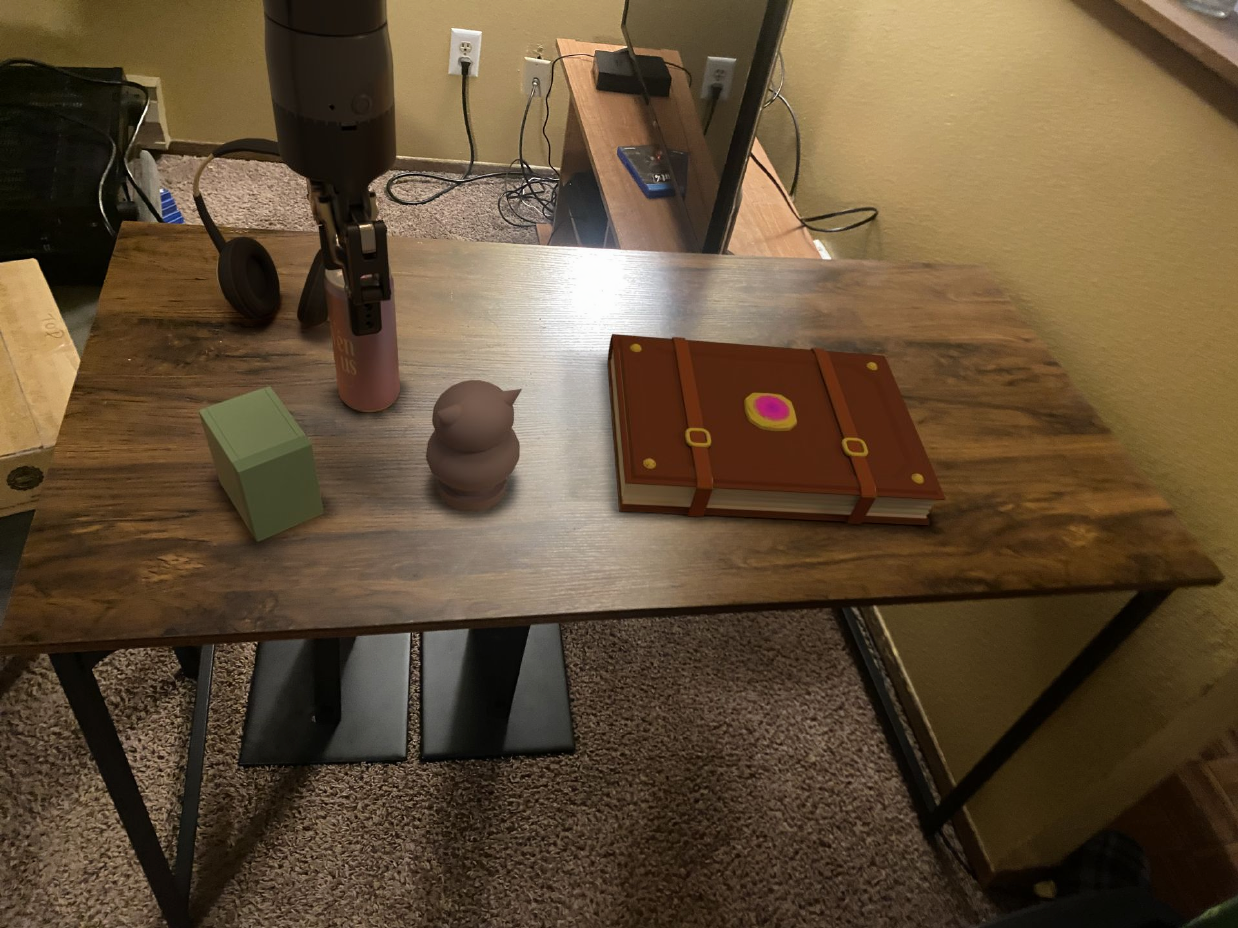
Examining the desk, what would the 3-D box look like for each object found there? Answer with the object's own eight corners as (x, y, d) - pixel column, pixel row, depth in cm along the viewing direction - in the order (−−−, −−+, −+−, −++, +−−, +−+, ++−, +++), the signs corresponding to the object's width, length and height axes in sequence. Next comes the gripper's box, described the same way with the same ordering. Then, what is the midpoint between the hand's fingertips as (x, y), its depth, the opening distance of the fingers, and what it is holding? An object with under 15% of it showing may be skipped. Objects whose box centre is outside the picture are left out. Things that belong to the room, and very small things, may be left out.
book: (928, 528, 84) (950, 496, 80) (619, 514, 79) (627, 479, 75) (868, 377, 99) (884, 345, 95) (606, 358, 94) (613, 322, 91)
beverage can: (412, 393, 86) (407, 270, 75) (370, 424, 82) (358, 299, 71) (369, 367, 88) (358, 243, 77) (326, 396, 84) (307, 270, 73)
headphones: (233, 283, 93) (193, 108, 79) (367, 299, 95) (353, 131, 81) (207, 331, 88) (159, 151, 73) (351, 347, 89) (332, 175, 75)
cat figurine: (493, 443, 83) (499, 350, 74) (532, 498, 79) (542, 406, 70) (412, 471, 79) (408, 376, 70) (448, 530, 75) (448, 436, 66)
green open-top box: (219, 482, 75) (197, 409, 68) (285, 457, 78) (270, 385, 71) (257, 542, 71) (237, 472, 64) (324, 513, 74) (312, 443, 68)
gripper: (249, 44, 55) (281, 253, 67) (296, 148, 47) (323, 365, 59) (363, 42, 59) (375, 242, 70) (425, 139, 50) (427, 347, 62)
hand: (351, 298), depth 65 cm, fingers open, 8 cm apart
